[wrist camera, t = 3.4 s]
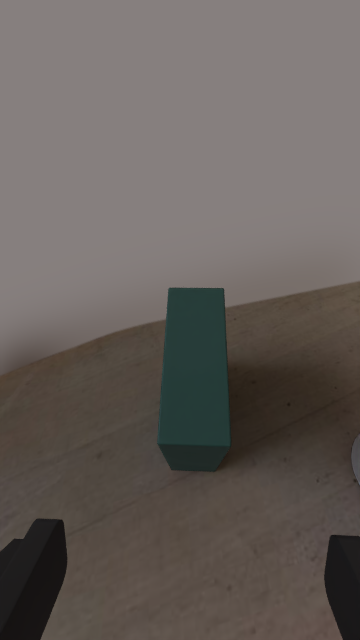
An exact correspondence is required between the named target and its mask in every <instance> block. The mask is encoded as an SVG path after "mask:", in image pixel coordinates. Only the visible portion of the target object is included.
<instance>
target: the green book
mask: <svg viewBox="0 0 360 640" xmlns="http://www.w3.org/2000/svg"><path fill="white" fill-rule="evenodd" d="M157 444H158V446H159V447H160V449H161V451H162V453H163V455H164V457H165V459H166V460H167V462H168V464H169V466H170V468H171V470H183V471H208V472H215V471H216V469H217V467H218V466H219V464H220V463H221V461H222V460H223V458H224V457H225V455H226V453H227V452H228V450H229V449H230V447H231V428H230V406H229V385H228V363H227V342H226V320H225V299H224V289H223V288H169V290H168V304H167V316H166V330H165V343H164V357H163V371H162V384H161V398H160V412H159V425H158V439H157Z"/></svg>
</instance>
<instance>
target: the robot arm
mask: <svg viewBox="0 0 360 640" xmlns="http://www.w3.org/2000/svg"><path fill="white" fill-rule="evenodd" d="M66 568H67V549H66V540H65V530H64V522H63V520H57V519H36V520H35V521H34V522H33V524H32V525H31V527H30V529H29V530H28V532H27V534H26V535H25V537H24V539H13V540H12V541H11V542H10V543H9V544H8V545H7V546H6V547H5V548H4V549H3V550H2V551H1V552H0V640H40V639H41V637H42V634H43V632H44V629H45V627H46V624H47V622H48V619H49V617H50V614H51V612H52V609H53V607H54V604H55V602H56V599H57V597H58V594H59V591H60V589H61V586H62V584H63V581H64V577H65V573H66ZM324 580H325V588H326V593H327V597H328V601H329V604H330V606H331V609H332V612H333V614H334V617H335V620H336V622H337V625H338V628H339V630H340V633H341V636H342V638H343V640H360V537H359V536H345V535H331V536H330V540H329V546H328V553H327V560H326V566H325V574H324Z"/></svg>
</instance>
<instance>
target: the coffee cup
mask: <svg viewBox="0 0 360 640" xmlns="http://www.w3.org/2000/svg"><path fill="white" fill-rule="evenodd" d="M351 461H352V467H353V471H354V474H355V476H356V479H357V481H358V483H359V485H360V433H359V434H358V436H357V437H356V439H355V441H354V443H353V446H352V452H351Z"/></svg>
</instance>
